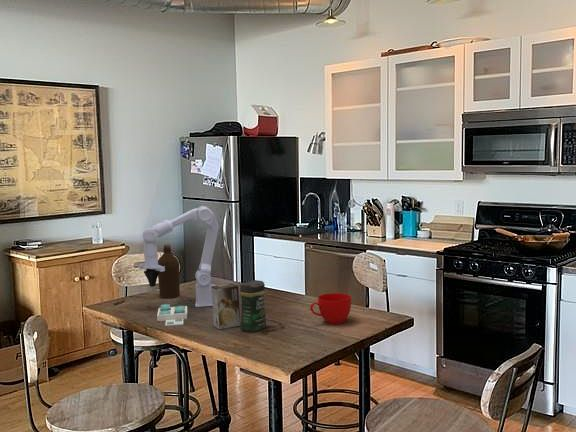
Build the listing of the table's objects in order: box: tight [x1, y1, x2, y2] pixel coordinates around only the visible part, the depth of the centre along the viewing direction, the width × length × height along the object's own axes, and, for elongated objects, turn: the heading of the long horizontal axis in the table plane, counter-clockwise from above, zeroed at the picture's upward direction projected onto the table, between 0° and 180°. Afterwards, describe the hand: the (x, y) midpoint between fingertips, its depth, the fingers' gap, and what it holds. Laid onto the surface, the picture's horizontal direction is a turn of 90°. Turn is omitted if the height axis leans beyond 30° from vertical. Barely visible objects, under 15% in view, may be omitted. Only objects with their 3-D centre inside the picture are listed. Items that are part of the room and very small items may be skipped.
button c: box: [160, 303, 171, 311], centre depth 250 cm, size 4×4×2 cm
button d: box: [160, 310, 170, 315], centre depth 245 cm, size 4×4×2 cm
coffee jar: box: [239, 279, 267, 333], centre depth 226 cm, size 10×8×19 cm
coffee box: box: [211, 282, 241, 330], centre depth 231 cm, size 9×6×16 cm
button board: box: [156, 305, 188, 322], centre depth 248 cm, size 12×12×2 cm
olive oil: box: [157, 244, 181, 300], centre depth 283 cm, size 11×11×25 cm
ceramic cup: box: [309, 292, 352, 325], centre depth 231 cm, size 13×17×10 cm
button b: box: [174, 305, 184, 314], centre depth 245 cm, size 4×4×2 cm
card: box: [164, 319, 184, 327], centre depth 239 cm, size 7×7×1 cm
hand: (152, 286), depth 260 cm, fingers closed
